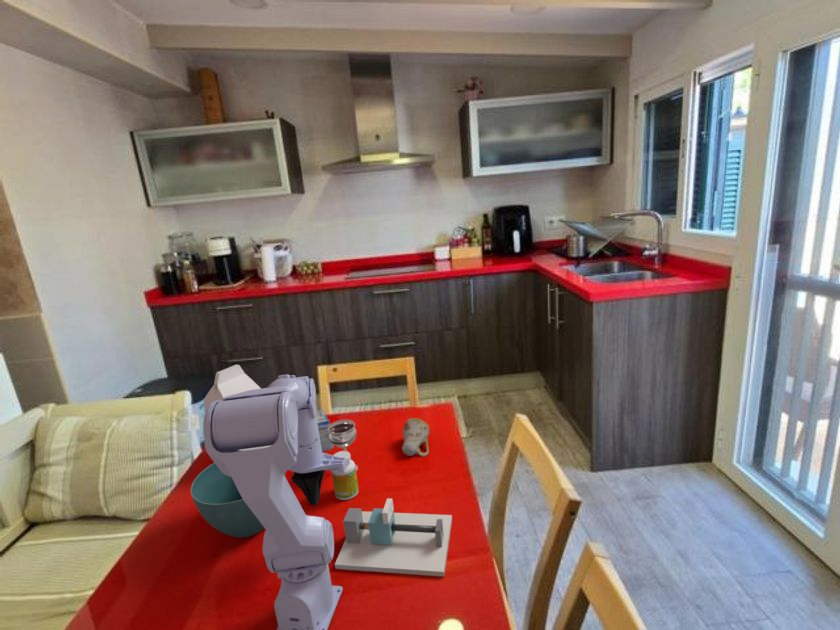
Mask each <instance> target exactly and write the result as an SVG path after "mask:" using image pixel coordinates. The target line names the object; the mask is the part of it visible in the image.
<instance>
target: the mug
mask: <svg viewBox="0 0 840 630" xmlns="http://www.w3.org/2000/svg"><path fill="white" fill-rule="evenodd" d="M429 435H430V426H429V424H428V423H427V422H426V421H424V420H423V419H421V418H417V417H415V418H413V417H412V418H411V417H410V418H409V419H407V420H406V421H405V423H404V425H403V426H402V437H403V444H402V446H401V449H402V452H403V453H404V455H405V456H410V457H411V456H415V455H416V454H418V455H419V456H420V457H427V456H428V455H429V453H430V447H429V441H428V440H429ZM423 444H424V445H425V449H426V451H425V452H422V451H421V448H420V446H422V445H423Z"/></svg>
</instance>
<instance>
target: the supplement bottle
mask: <svg viewBox="0 0 840 630" xmlns="http://www.w3.org/2000/svg"><path fill="white" fill-rule="evenodd" d="M332 455H333V456H336V457H342V458H346V461H347V468H346V470H345V472H344V473H339V471H338V470H330V473H331V476H332V483H333V489H334V495H335V497H336V499H338V500H341V501H346V500H347V501H348V500H350V499H353V498H355V497H356V496H357V495H358V494H359V483H358V477H357V471H356V468H355V465H356V464H355V461H354V460H352V458H351V456H352V455H351V453H350V452H349V451H348V450H347V451H344V450H342V451H341V450H340V451H338V452H335V453H334V454H332Z"/></svg>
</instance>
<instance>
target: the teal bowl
mask: <svg viewBox="0 0 840 630" xmlns="http://www.w3.org/2000/svg"><path fill="white" fill-rule="evenodd" d="M284 476H285V477H286V472H285V473H284ZM190 495H191V498H192V501H193V503H194V504H195V507H196V509H197V511H198V512H199V513H200V515H201V516H202V517H203V519H204V520H205V521H206V522H207V523H208V525H210V527H211V526H212V528H214V529H215V530H217V531H218V532H220V533H222V534H224V535H227V536H230V537H233V538H238V539H239V538H241V539H243V538H249V537H251V536H254V535H257V534H258V533H260V532H262V531H263V530H264V529H265V528H264V527H263V525H262V524H261V523H260V521H259V520H258V519H257V517H256V516H255V515H254V513H253V512H252V511H251V510H250V508H249V507H248V506H247V504H246V503H245V502H244V500H243V499H242V497H241V495H240V493H239V491H238V489H237V487H236V485H235V483H234V481H233V479H232V477H229V476H227V475H225V474H223V473H222V472H221V470H220V469H219V468H218V467H217V465H216V464H215V463H214V462H213V463H212V464H209V466H207V467H206V468H204V469H203V470H202V471H201V472H200V473H198V475H196V477H195V478H194V479H193V481H192V484H191V487H190Z"/></svg>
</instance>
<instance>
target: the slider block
mask: <svg viewBox="0 0 840 630" xmlns="http://www.w3.org/2000/svg"><path fill="white" fill-rule="evenodd" d="M371 512H372V514H371V517H370V520H369V522H368V526H369V532H370V539H371V543H374V544H392V541H393V538H392V533H395V531H392V530H391V526H392V524H395V516H394V513H395V509H394V501H393V498H386V501H385V504H384V507H383V508H374V507H373V509H372V511H371Z"/></svg>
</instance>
